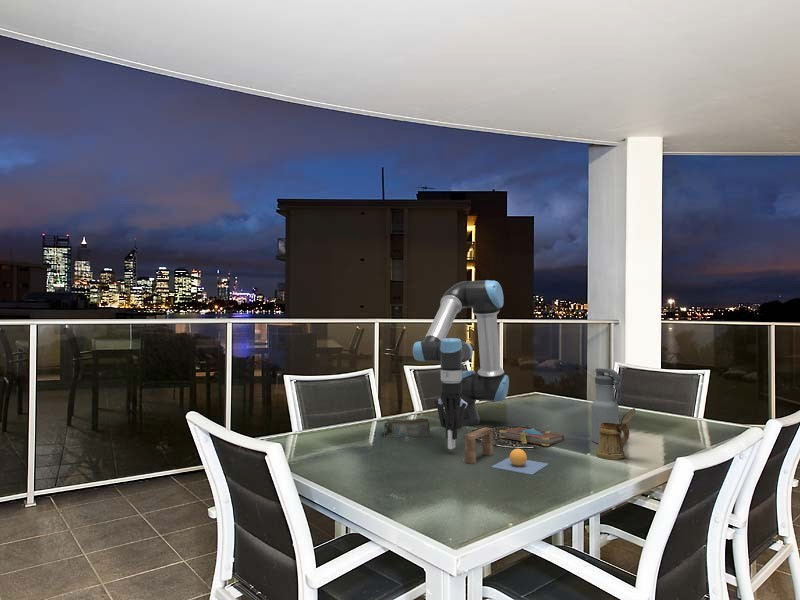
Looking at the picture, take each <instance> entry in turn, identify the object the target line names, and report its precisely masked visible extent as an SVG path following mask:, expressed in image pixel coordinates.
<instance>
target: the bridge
mask: <svg viewBox="0 0 800 600" xmlns="http://www.w3.org/2000/svg"><path fill="white" fill-rule="evenodd" d="M493 431H494V429H493V427H486V426H485V427H482V428H479V429H476V430H475V431H474V430H473V431H472V432H469V433H467V434H465V435H464V463H465V464H471V465H473V464H476V462H477V457H476V455H477V453H476V451H477V450H476V449H477V447H476V444H477V441H476V439H478V438H480V437H482V439H481V441H482V455H484V456H489V457H490V456H493V454H494V453H493V452H494V447H493V444H494V440H493V439H494V437H493V433H494V432H493Z"/></svg>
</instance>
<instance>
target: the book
mask: <svg viewBox="0 0 800 600" xmlns="http://www.w3.org/2000/svg"><path fill="white" fill-rule="evenodd" d="M498 432H500V433H501V434H502V435H500V436H499V438H501V439H509V440H514V441H519V442H521V444H523V445H525V444H526V445H527V444H528V443H530V444H535V445H541V446H544V447H549V446H550V445H554V444H557V443H561V442H563V441H564V440H565V436H564V434H561V433H557V432H556V433H555V432H551V431H549V430H547V431H545V430H538V429H535V428H525V427H520V426H519V427H514V428H508V429H500V430H499V431H498Z"/></svg>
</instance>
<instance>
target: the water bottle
mask: <svg viewBox="0 0 800 600" xmlns="http://www.w3.org/2000/svg"><path fill="white" fill-rule="evenodd" d="M595 373H596V374H595V375H596V376H595V377H594V385H595V400H593V401H592V402H591V408H590V409H591V441H592V442H594V443H595V444H599V436H600V432H599V429H600V427H601V423H605V422H609V423H616V424H617V423H620V419H619V417H620V413H619V412H620V409H619V408H620V407H619V404H618V402H619V401H620V400H621V387H619V383H620V382H621V377H620V375H619V373H618V372H617V371H616V370H614V369H613V368H601V367H600V368H597V367H596V368H595ZM606 374H609V375H606ZM616 391H617V394H618V396H617V399H616Z"/></svg>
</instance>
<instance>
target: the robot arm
mask: <svg viewBox="0 0 800 600" xmlns="http://www.w3.org/2000/svg"><path fill="white" fill-rule="evenodd" d="M439 302H440V306H439V308H438V310H437V313H436V315H435V317H434V318H433V321H432V322H431V324H430V326H429V328H428V331H427V332H426V334H425V337H424V338H423V340H420V341H416V342H414V344H413V345H412V355H413V358H414V360H416V361H419V362H424V363H425V362H434V363H435V362H437V363H440V381H441V382H440V393H441V394H440V397H439V398H438V399H436V400H434V404H435V406H436V408H437V412H438V413H437V414H438V417H439V423H440V426H441V428H444V429H445V439H447V449H448V450H454V449H455V448H456V440H457V439H458V430H460V429H462V428H463V427H464V426H475V425H479V424H480V416H479V413H478V409H477V406H476V401H482V402H493V403H496V402H498V403H499V402H501V403H502V402H504V401H505V400H506V398H507V396H508V393H509V389H510V388H509V387H510V378H509V375H507V374H505V370H504V368H502V367H501V361H500V359H501V357H500V347H499V346H500V343H499V331H498V317H497V315H498V314H499V312H501V311H500V310H501V308H503V306H504V293H503V288H502V286H501V284H500V283H499V282H498V281H496V280H490V279H489V280H488V279H486V280H482V279H481V280H465V281H464V280H463V281H460V282H457V283H455V284H454V285H452V286H451V287H450V288H448V290H446V291H445V292H444V293H443V296H442V297H441V299H440V301H439ZM469 308H470V309H472V314H473V315H474V316H476V322H477V323H476V327H477V336H478V338H477V339H478V350H479V354H478V355H479V365H480V368H479V369H478V370H477V373H476V371H475V370H462V365H463V363H466V362H467V361H469V360H470V359H472V357H473V348H472V347H473V346H472V345H470V343H468V342H465V341H462V340H461V339H460V338H454V337H449V338H448V337H447V336H448V334H449V331H450V329H451V327H452V325H453V322H454V320H455V318H456V316H457V314H459V313H460V312H461V311H462V310H463V309H469Z"/></svg>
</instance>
